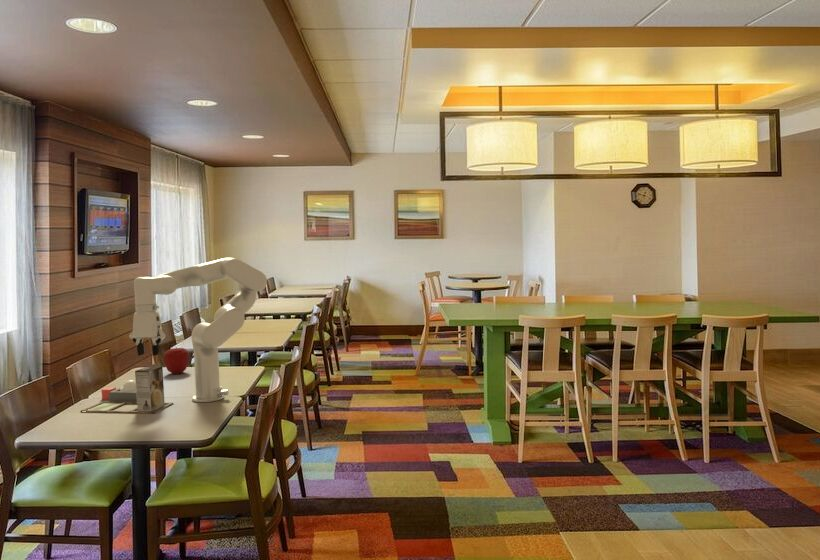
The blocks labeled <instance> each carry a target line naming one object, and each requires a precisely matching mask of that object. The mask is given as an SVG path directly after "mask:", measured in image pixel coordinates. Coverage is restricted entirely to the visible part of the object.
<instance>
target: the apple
mask: <svg viewBox="0 0 820 560" xmlns="http://www.w3.org/2000/svg"><path fill="white" fill-rule="evenodd" d="M189 358H190V354H189V351H188V350H187V349H186V348H184V347H175V348H170V349H167V350H166V351H165V352H164V354H163V362H164V365H165V367H166V370H167V371H168V372H169V373H171V374H172V375H180V374H179V373H181V374H183V373H184V372H185V371H186V369H187V367H188V364H189Z"/></svg>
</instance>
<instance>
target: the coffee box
mask: <svg viewBox="0 0 820 560" xmlns="http://www.w3.org/2000/svg"><path fill="white" fill-rule="evenodd" d="M134 373H135V381H136V393H137V404H136V405H137V406H136V408H137V409H138V410H137V411H155V410H157V409H159V408H161V407H163V406H165V403H166V402H165V401H166V400H165V386H164V372H163V365H161V366H160V365H159V366H158V365H153V366H151V365H150V366H149V365H148V366H145V367H143V368H140V369H136V370H135V371H134Z"/></svg>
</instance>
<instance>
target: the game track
mask: <svg viewBox="0 0 820 560" xmlns="http://www.w3.org/2000/svg"><path fill="white" fill-rule="evenodd" d="M172 404H173V405H174V402H165V406H163V407H160V408H158V409H156V410H154V411H138V409H137V407H134V408H133V409H131V410H117V409H118V408H121V407H122V406H125V405H137V402H109V401H101V402H99V403H96V404H93V405H91V406H89V407H87V408H83V409H81V410H80V412H81V411H86V412H85V413H94V412H106V413H107V414H144V413H147V414H148V415H150V414H151V415H153V414H157V413H159V412H161V411H163V410H164V409H167V408H169V407H170V406H172ZM88 409H89V410H88ZM111 410H112V411H111ZM106 413H105V414H106Z"/></svg>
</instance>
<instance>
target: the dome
mask: <svg viewBox="0 0 820 560" xmlns="http://www.w3.org/2000/svg"><path fill="white" fill-rule="evenodd" d="M119 388H120V391H129V392H134V391H136V380H133V379H129V380H126V381H125V382H124V383H123V385H122V386H121V387H119Z"/></svg>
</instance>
